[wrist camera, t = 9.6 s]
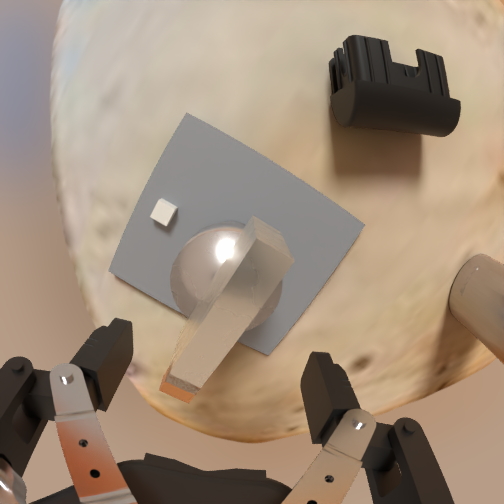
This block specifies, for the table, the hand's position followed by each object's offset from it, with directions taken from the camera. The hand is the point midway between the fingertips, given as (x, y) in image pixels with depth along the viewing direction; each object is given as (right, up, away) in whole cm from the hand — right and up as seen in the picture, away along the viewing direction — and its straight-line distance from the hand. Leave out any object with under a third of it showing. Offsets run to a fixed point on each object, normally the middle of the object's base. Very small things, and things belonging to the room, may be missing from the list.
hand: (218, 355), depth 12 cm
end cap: (+13, +19, +10) cm, 25 cm away
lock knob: (0, +3, +8) cm, 8 cm away
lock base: (0, +5, +14) cm, 15 cm away
